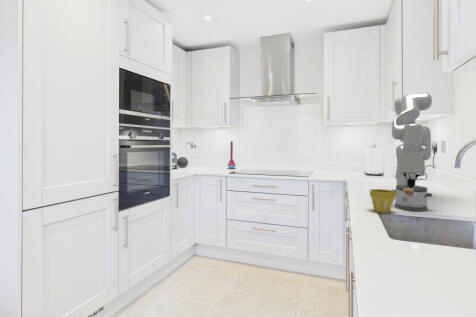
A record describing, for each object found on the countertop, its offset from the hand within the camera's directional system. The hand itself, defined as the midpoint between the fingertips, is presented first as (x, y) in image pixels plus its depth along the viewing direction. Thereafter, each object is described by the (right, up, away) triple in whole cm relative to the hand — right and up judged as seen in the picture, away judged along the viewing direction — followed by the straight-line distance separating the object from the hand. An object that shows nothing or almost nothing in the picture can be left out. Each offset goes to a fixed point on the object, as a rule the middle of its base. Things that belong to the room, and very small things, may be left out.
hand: (411, 187), depth 130 cm
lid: (0, -1, 0) cm, 1 cm away
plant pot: (-17, -11, -5) cm, 21 cm away
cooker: (+1, -11, +1) cm, 11 cm away
